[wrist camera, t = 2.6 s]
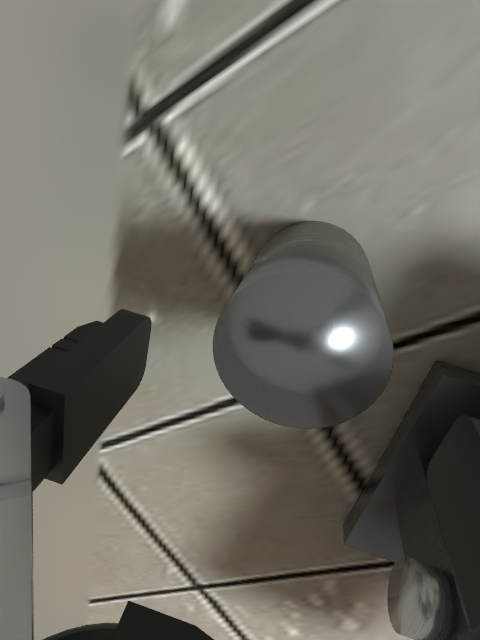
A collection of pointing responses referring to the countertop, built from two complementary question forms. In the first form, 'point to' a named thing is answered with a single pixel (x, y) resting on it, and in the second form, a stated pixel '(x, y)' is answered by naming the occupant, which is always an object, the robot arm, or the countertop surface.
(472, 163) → the countertop surface
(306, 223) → the cylinder
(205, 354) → the countertop surface
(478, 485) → the robot arm
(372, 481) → the seesaw stand
